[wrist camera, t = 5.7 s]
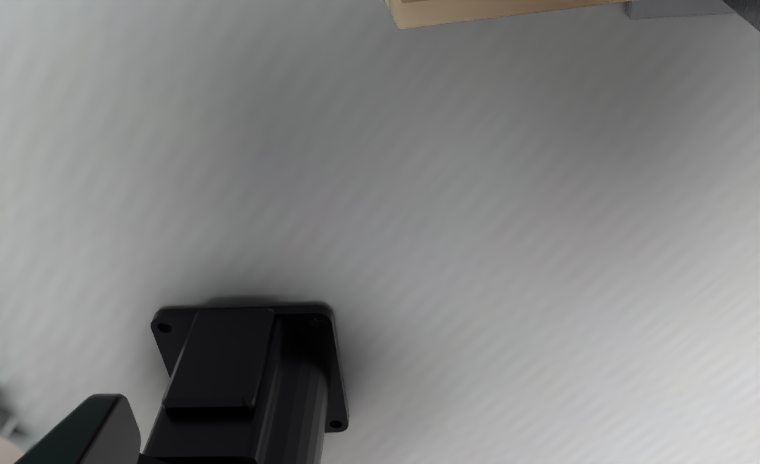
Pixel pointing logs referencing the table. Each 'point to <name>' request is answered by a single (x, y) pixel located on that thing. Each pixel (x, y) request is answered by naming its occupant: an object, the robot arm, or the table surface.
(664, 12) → the stand
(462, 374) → the table surface
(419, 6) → the lever
